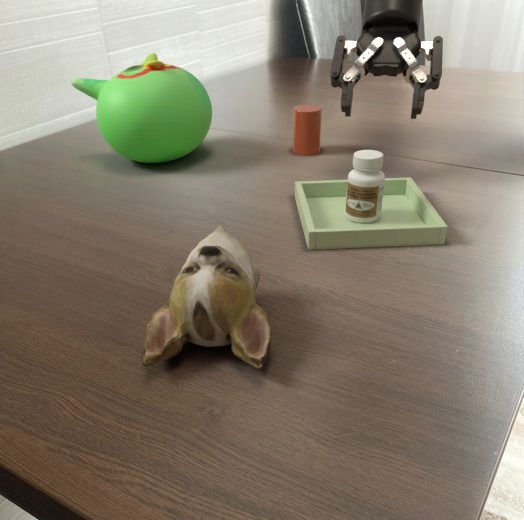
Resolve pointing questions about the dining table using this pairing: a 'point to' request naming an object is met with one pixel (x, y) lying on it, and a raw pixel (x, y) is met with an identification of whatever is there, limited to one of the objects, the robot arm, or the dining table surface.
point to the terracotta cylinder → (306, 129)
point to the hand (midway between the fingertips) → (380, 114)
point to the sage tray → (367, 234)
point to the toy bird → (151, 111)
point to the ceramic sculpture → (212, 305)
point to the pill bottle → (365, 187)
